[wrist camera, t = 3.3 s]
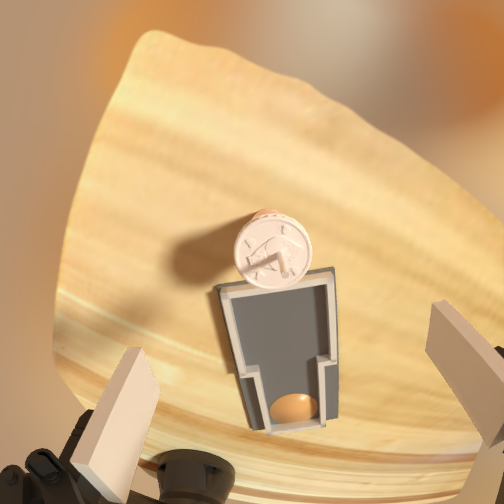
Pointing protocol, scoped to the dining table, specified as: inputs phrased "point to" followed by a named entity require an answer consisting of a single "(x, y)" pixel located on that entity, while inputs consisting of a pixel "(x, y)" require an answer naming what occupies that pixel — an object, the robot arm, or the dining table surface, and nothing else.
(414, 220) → the dining table surface
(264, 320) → the keyhole plate
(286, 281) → the smoothie
